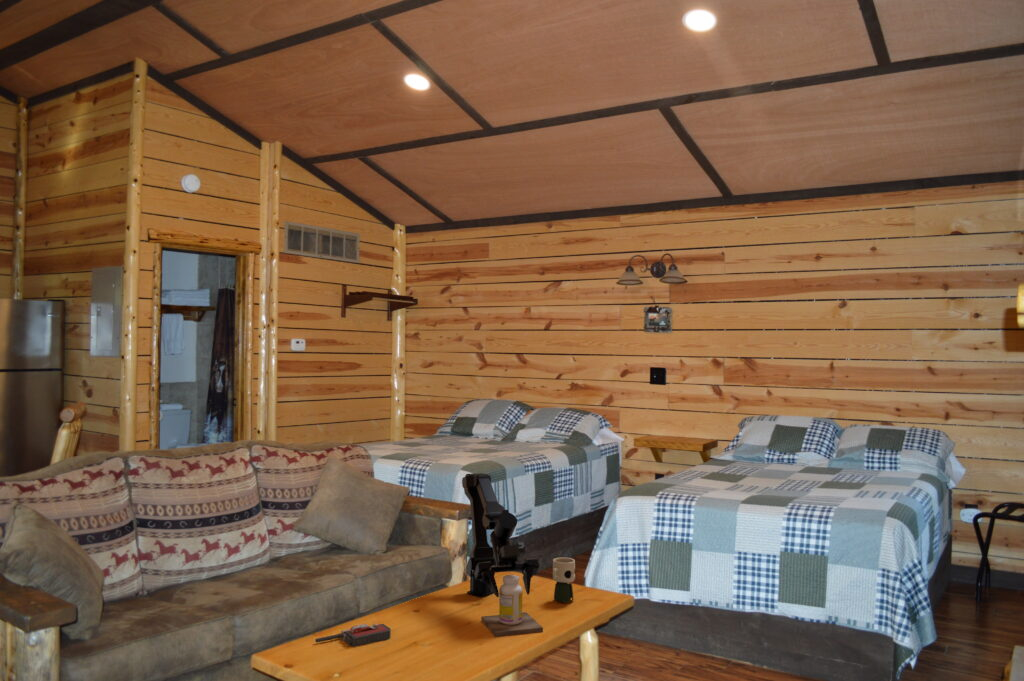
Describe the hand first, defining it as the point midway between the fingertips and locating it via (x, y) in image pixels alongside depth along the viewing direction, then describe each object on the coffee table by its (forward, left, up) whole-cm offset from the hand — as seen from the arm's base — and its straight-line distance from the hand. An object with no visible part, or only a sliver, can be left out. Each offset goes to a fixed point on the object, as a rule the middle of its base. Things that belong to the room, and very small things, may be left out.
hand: (513, 595), depth 228 cm
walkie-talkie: (-25, -37, -10) cm, 46 cm away
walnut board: (-1, +1, -9) cm, 9 cm away
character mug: (-4, +30, -9) cm, 31 cm away
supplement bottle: (-1, +1, -8) cm, 8 cm away
